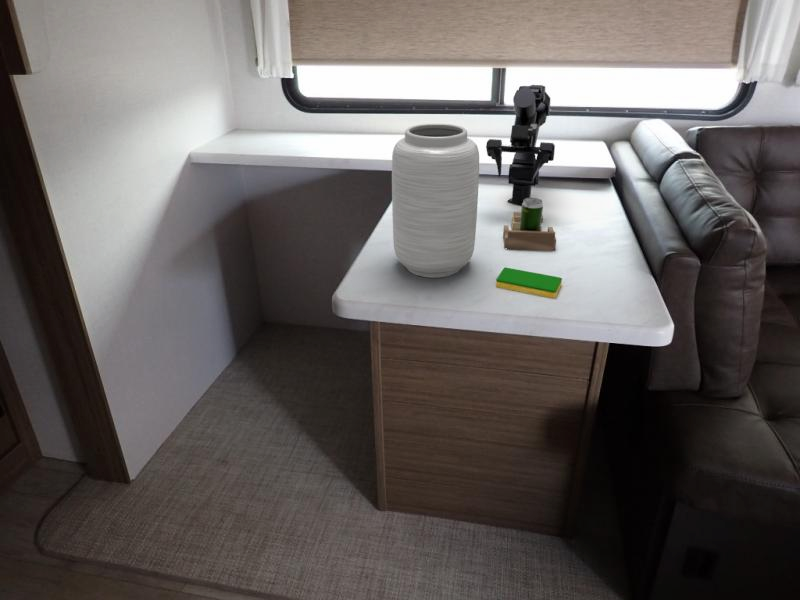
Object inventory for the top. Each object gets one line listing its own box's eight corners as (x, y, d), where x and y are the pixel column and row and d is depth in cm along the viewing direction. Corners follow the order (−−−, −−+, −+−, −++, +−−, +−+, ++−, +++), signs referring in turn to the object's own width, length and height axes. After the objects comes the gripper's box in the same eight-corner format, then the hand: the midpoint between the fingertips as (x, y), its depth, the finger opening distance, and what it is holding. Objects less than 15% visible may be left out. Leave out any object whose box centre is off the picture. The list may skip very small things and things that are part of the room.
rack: (503, 235, 161) (504, 218, 158) (551, 236, 160) (553, 220, 157) (504, 249, 153) (506, 231, 150) (555, 251, 151) (557, 233, 149)
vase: (382, 256, 150) (378, 124, 133) (452, 244, 156) (457, 117, 140) (411, 290, 133) (410, 145, 117) (488, 275, 140) (498, 135, 123)
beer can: (530, 249, 153) (535, 206, 147) (514, 243, 156) (518, 201, 150) (542, 243, 156) (547, 200, 150) (526, 237, 159) (530, 196, 153)
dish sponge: (503, 275, 140) (504, 266, 139) (561, 286, 135) (562, 277, 134) (495, 288, 135) (495, 279, 133) (554, 300, 129) (555, 290, 128)
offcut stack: (511, 226, 167) (512, 211, 165) (539, 226, 166) (541, 212, 164) (512, 232, 162) (513, 217, 160) (541, 233, 161) (543, 218, 159)
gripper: (489, 110, 159) (479, 161, 156) (558, 113, 154) (550, 167, 151) (492, 130, 169) (483, 179, 166) (557, 134, 164) (549, 185, 161)
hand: (515, 177), depth 161 cm, fingers open, 9 cm apart
